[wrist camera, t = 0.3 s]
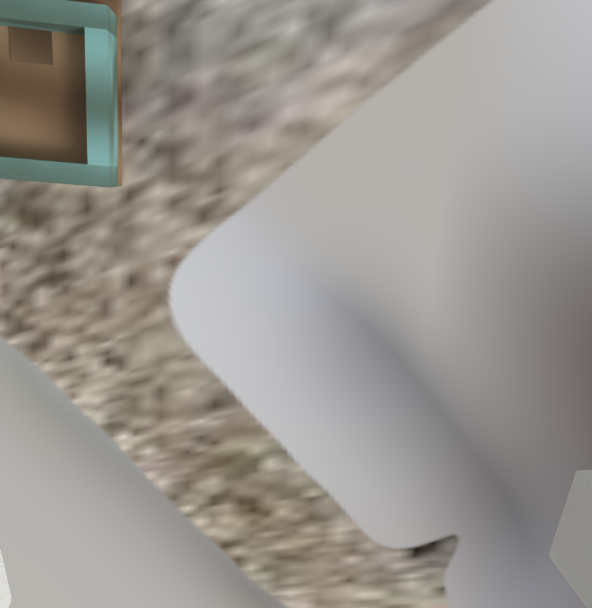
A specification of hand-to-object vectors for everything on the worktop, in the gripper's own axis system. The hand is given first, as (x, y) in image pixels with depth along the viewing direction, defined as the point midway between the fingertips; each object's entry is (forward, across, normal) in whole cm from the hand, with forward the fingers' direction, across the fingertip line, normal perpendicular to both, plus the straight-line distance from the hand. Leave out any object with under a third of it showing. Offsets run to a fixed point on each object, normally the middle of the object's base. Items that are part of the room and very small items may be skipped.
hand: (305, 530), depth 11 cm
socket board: (+28, -13, +10) cm, 32 cm away
